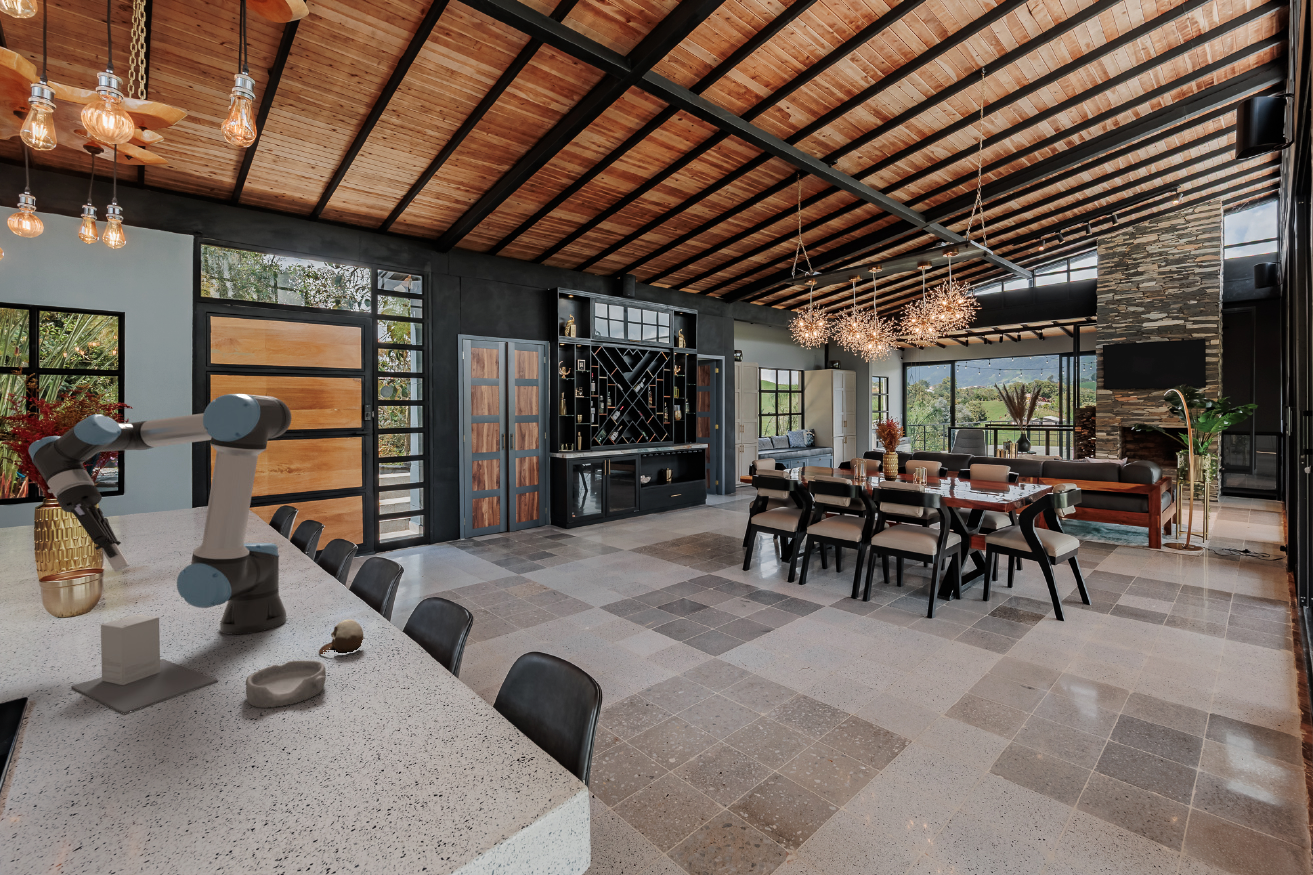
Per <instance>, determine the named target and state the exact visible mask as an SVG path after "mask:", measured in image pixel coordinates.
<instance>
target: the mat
mask: <svg viewBox="0 0 1313 875" xmlns="http://www.w3.org/2000/svg"><path fill="white" fill-rule="evenodd" d="M218 682H219V680H218V679H217V678H214V677H212V676H210V675H207V674H204V673H201V672H199V671H196V670H194V669H191V668H189V667H185V666H183V665H181V664H177V663H175V662H172V661H169V660H167V659H165V658H160V672H159V673H157V674H154V675H151V676H148V677H146V678H143V679H140V680H137V681H134V682H131V683H128V684H125V685H119V684H115V683H110V682H105V681H102V676H101V677H98V678H94V679H90V680H87V681H84V682H81V683H77V684H74V685H71V687H70V688H71V689H73V690H75V691H77V692H78V693H81V694H83V695H85V696H87V697H89V698H90V699H93V700H95V701H97V702H99V703H101V704H103V705H105V706H107V707H109V708H111V709H112V710H114V711H117V710H118V711H117V712H119V711H120V712H119V713H121V712H122V713H121V714H123V713H124V714H123V715H126V714H125V713H127V714H129V712H130V711H133V712H135V711H134V710H136V711H138V710H141V709H144V708H147V707H149V706H152V705H156V704H158V703H160V702H161V703H162V702H163V701H166V700H170V699H172V698H174V697H175V698H176V697H178V696H180V695H183V694H186V693H189V692H192V691H194V690H198V689H201V688H203V687H206V686H209V685H211V684H215V683H218ZM140 708H141V709H140ZM130 713H131V712H130Z"/></svg>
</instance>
